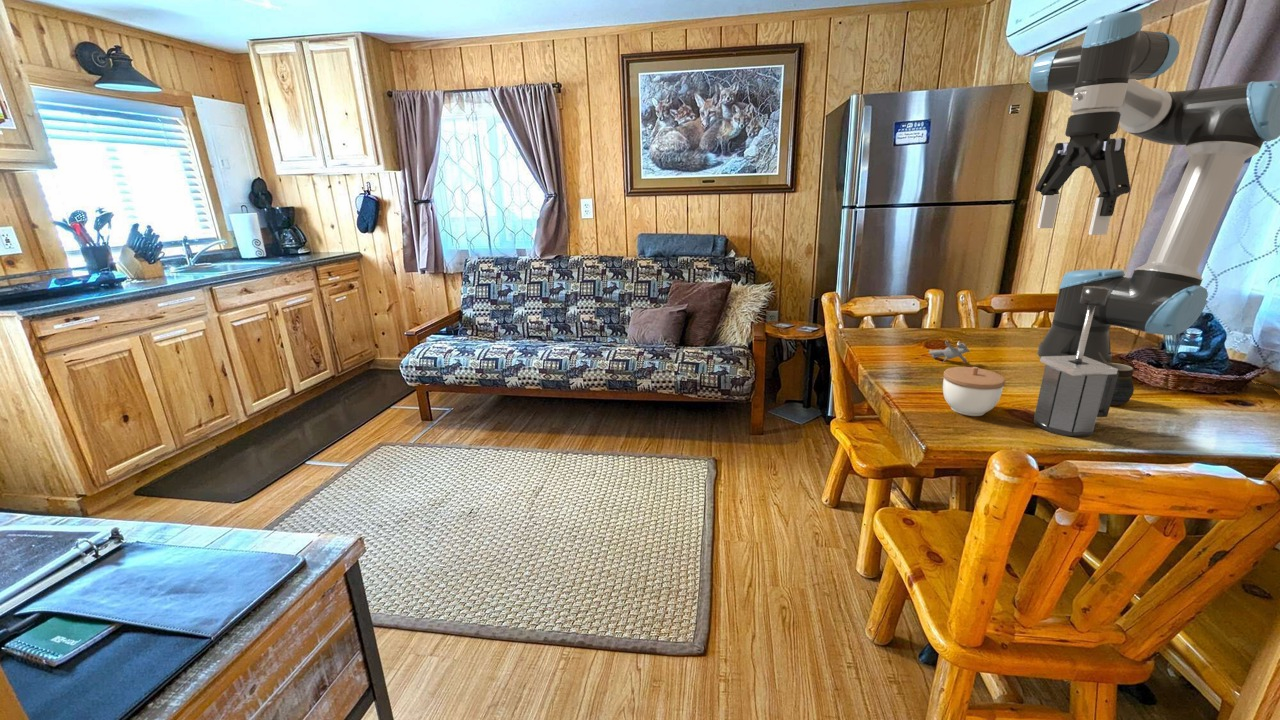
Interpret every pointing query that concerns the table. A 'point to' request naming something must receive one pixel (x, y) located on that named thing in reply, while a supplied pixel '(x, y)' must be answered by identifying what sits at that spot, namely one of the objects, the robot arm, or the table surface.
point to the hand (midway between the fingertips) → (1069, 231)
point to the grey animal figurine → (950, 352)
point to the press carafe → (1074, 395)
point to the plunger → (1089, 314)
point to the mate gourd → (1121, 383)
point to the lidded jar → (972, 390)
